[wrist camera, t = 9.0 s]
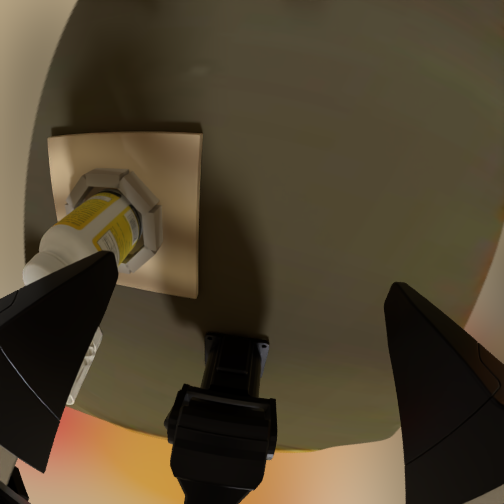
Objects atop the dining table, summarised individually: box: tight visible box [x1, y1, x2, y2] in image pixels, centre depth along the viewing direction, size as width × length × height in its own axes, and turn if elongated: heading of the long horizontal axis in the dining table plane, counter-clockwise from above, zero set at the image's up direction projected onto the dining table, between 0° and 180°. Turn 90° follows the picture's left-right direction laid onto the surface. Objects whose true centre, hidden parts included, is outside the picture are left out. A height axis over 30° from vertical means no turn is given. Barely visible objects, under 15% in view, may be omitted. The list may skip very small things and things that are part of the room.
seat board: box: [48, 131, 203, 299], centre depth 21 cm, size 14×14×2 cm
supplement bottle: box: [23, 189, 143, 286], centre depth 17 cm, size 5×5×10 cm
